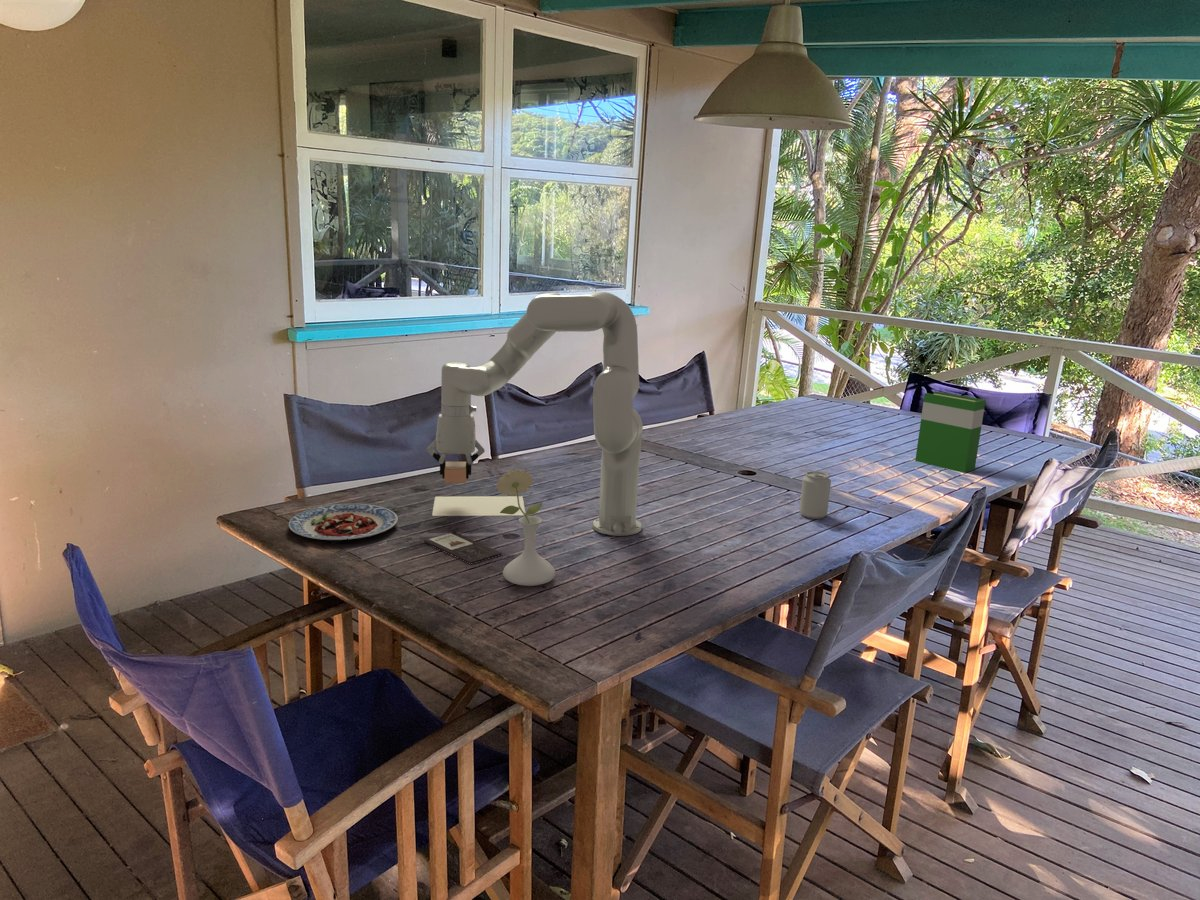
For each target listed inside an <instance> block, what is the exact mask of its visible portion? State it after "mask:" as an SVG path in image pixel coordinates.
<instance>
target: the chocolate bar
mask: <svg viewBox="0 0 1200 900" xmlns="http://www.w3.org/2000/svg"><path fill="white" fill-rule="evenodd" d="M424 542H426V543H428V544H430V545H432V546H434V547H436V548H435V549H437V548H438V549H437V550H439V549H440V550H439V551H441V550H443V551H445V552H447V553H449V554H452V555H453V556H456V557H458V558H459V559H461V560H464V561H466V562H468V563H470V564H471V563H475V562H478V561H481V562H483V561H482V560H484V561H486V560H485V559H488V558H491V559H493V558H492V557H494V558H496V557H495V556H497V557H499V556H498V555H501V554H502V552H500V551H497V550H496V549H493V548H491V547H489V546H487V545H485V544H482V543H480V542H477V541H476V540H473V539H471V538H470V537H466V535H463V534H460V533H458V532H456V531H453V532H450V533H447V534H442V535H439V536H436V537H432V538H428V539H424V540H423V543H424ZM426 543H425V544H426ZM428 544H427V545H428ZM430 545H429V546H430ZM432 546H431V547H432ZM434 547H433V548H434ZM443 551H442V552H443ZM445 552H444V553H445ZM447 553H446V554H447ZM449 554H448V555H449ZM453 556H452V557H453ZM501 556H502V555H501ZM459 559H458V560H459ZM461 560H460V561H461ZM488 560H489V559H488ZM468 563H467V564H468ZM478 563H479V562H478ZM470 564H469V565H470ZM475 564H476V563H475ZM471 565H472V564H471Z"/></svg>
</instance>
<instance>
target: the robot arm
mask: <svg viewBox="0 0 1200 900" xmlns="http://www.w3.org/2000/svg"><path fill="white" fill-rule="evenodd" d="M601 329H602V332H603V341H602V352H603V353H602V354H603V357H602V358H603V368H602V372H601V373H599V374H598V376H597V377H596V379H595V380H594V384H593V389H592V390H593V391H592V400H593V401H592V405H593V406H592V407H593V408H592V409H593V412H592V413H593V415H592V416H593V434H594V439H595V441H596V443H597V445H598V447H599V448H601V449H602V451H601V463H600V483H599V485H600V486H599V505H598V506H599V509H598V518H596V519H594V520H593V521H592V529H593V530H595V531H596V532H597V533H600V534H603V535H606V534H607V536H615V537H626V536H632V535H635V534H638V533H639V532H641V531H642V527H643V525H642V523H641V522H640V521H639V520H637V507H638V489H639V471H640V456H641V447H642V446H641V445H642V439H643V431H644V429H643V427H644V426H643V425H644V424H643V421H642V418H641V415H640V414H639V412H638V411H637V410H636V409H634V407H633V405H634V404H633V403H634V402H633V398H635V396H636V395H637V394H638V392H639V388H640V372H639V371H640V370H639V369H640V368H639V347H638V345H639V344H638V343H639V342H638V341H639V340H638V326H637V321H636V318H635V315H634V312H633V311H632V309H631V308H630V306H629V305H628V303H626V302H625V301H624V300H623V299H622V298H620V297H619V296H617V295H615V294H613V293H610V292H607V291H597V292H593V293H590V294H589V293H588V294H581V295H580V294H579V295H578V294H577V295H575V294H574V295H562V294H560V293H558V292H546V293H543V294H540V295H539V294H538V295H537V296H535V297H533V298H532V299H531V301H530V302H529V303H528V305H527V308H526V312H525V314H523V316H521V317H520V319H518V320H517V321H516V322H515V324H513V326H512V327H510V329H508V331H507V335H506V339H505V340H506V341H505V342H504V343H503V345H502V346H501V348H500V349H499V350H498V351H497V352H496V353H495V354H494V355H493V356H492V357H491V358H490V359H489V360H488V361H486V363H483V364H480V365H477V366H473V367H471V365H469V364H468V363H464V362H455V361H453V362H446V363H444V364H443V365H442V367H441V392H440V393H441V397H440V398H441V402H440V403H441V406H440V408H441V411H440V412H441V413H439V414H438V417H437V423H436V434H435V438H434V440H433V441H432V442H431V444H430V445H428V447H427V448H426V453H428V454H429V455H431V456H432V457H433V458H434V459H435V461H436V462H438V464H439V476H440V475H441V476H442V477H441V478H442V480H443V479H444V474H445V465H446V462H447V461H446V460H445V459H446V456H447V455H464V456H465V458H466V461H465V462H466V480H469V476H471V475H472V464H473V463H474V462H475V461H476V460H478V458H479V457H480V456H482V455H483V454H484V453H485V448H484V447H483V446H482V445H481V443H480V442H479V441H478V440H477V439H476V437H477V436H476V423H475V417H474V414H473V413H477V406H473V405H472V404H471V403H472V396H476V397H485V396H487V395H491V394H492V393H494V392H496V391H498V390H500V389H501V388H503V387H504V386H505V385H506V384H507V383H509V382H510V380H511V379H513V377H515V375H517V374H518V372H519V371H520V370H521V369H522V368H523V367H524V366H525V365H526V363H527V362H528V361H529V360H530V359H531V358H532V357H533V356H534V354H535V353H537V352H538V350H539V349H540V348H542V346H543V345H544V344H546V343H547V341H548V340H549V339H550V338H551V337H553V336H554V335H555V334H556V332H559V333H560V332H576V333H577V332H581V333H582V332H584V333H586V332H595V331H599V330H601ZM435 448H436V449H435ZM476 449H477V451H476ZM475 451H476V452H475Z"/></svg>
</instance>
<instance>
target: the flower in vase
mask: <svg viewBox="0 0 1200 900" xmlns="http://www.w3.org/2000/svg"><path fill="white" fill-rule="evenodd" d="M533 484H534V483H533V477H532V474H531V472H530V471H526V472H525V469H524V468H522V469H519V468H516V469H515V470H513V469H510V470H508V472H506V473H505V472H504V473H503V475H501V476H500V477H499V478H498V481H497V482H496V485H495V486H496V489H497V490H498V493H499V494H501V495H503V496H506V495H507V496H517V500H518V506H519V508H518V507H515V506H507V507H505V508H504V509H503V510H502V511H501V512H500V513H505V514H515V513H516V512H517V511H518V510H519V509H520V510H521V512H522V513H523V514H524V516H520V518H519V519H518V522H519V523H520V525H521V527H522V530H523V534H524V548H523V551H522V552H521V554H519V555H518V556H517V557H516V558H514V559H513V560H511V561H510V562H509V563H508V564H506V565H505V566H504V569H503V570H502V575H503V577H504V579H505V580H506V581H508V582H510V583H512V584H514V585H518V586H525V587H532V586H534V587H535V586H541V585H544V584H546V583H549V582H551V581H552V580H554V578H555V576H556V570H555V567H554V566H553V565H552V564H551V563H550V562H549V561H547V559H545V558H543V557H542V556H541V555H539V554H538V552H537V550H536V536H537V531H538V528H539V526H540V525H541V523H543V519H542V518H541V517H539V516H533V515H534V514H537V513H538V512H539V511H540V509H541V508H542V504H543V502H540V503H536V504H533V505H531V506H529V507H527V510H526V511H525V513H524V512H523V510H522V509H521V507H520V504H519V496H520V495H521V494H522V493H525V492H528V490H529V488H531V486H532V485H533Z"/></svg>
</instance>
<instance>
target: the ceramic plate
mask: <svg viewBox="0 0 1200 900" xmlns="http://www.w3.org/2000/svg"><path fill="white" fill-rule="evenodd" d="M398 519H399V518H398V515H397V514H396V513H395V512H394V511H392V510H390V509H388V508H387V507H383V506H379V505H373V504H365V503H337V504H328V505H321V506H318V507H314V508H310V509H307V510H304V511H302V512H299V513H297V514H295V515H293V517H292V518H291V519H290V520H289V522H288V528H289V530H291V531H292V532H293V533H294V534H296V535H299V536H301V537H305V538H308V539H309V538H310V539H316V540H322V541H323V540H324V541H343V540H346V541H347V539H348V540H354V539H355V540H356V539H362V538H367V537H372V536H375V535H378V534H381V533H384V532H387V531H388V530H390V529H392V528H393V527H394V526H395V525H396V524H397V523H398Z"/></svg>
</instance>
